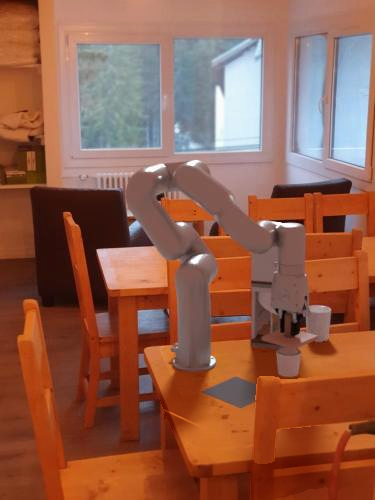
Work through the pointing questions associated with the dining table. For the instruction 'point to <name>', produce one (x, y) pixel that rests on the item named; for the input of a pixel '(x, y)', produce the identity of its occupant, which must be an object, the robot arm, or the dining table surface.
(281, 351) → the shot glass
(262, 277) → the white coffee machine
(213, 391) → the mat
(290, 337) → the lid
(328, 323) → the white cup
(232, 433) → the dining table surface
